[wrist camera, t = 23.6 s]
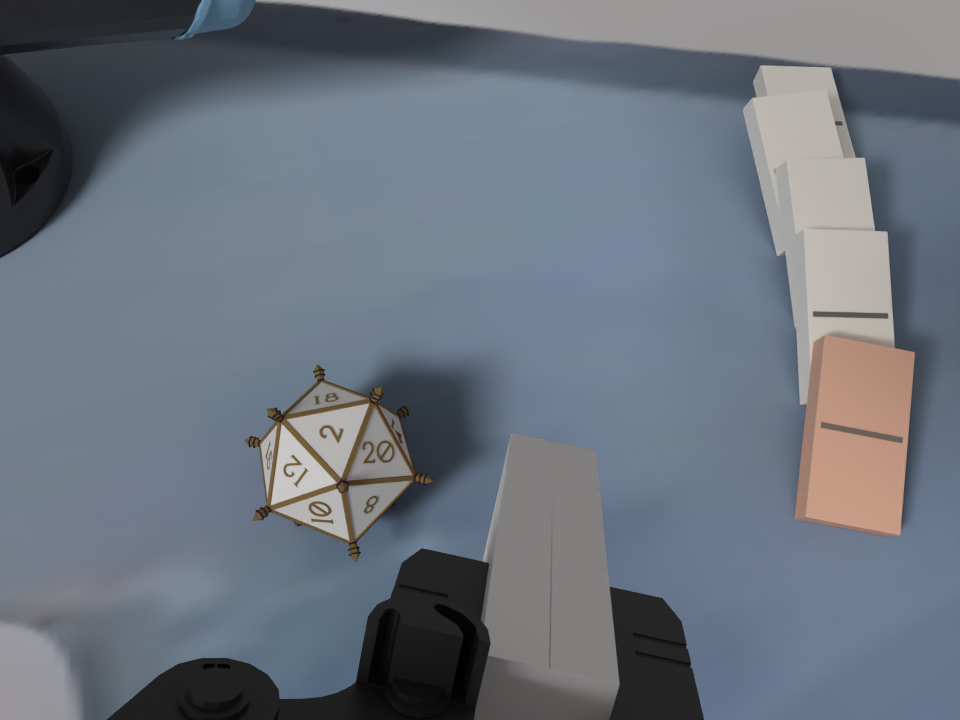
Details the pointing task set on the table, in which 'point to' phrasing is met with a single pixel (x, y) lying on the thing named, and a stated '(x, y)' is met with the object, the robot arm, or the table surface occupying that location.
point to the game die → (335, 461)
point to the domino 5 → (855, 436)
